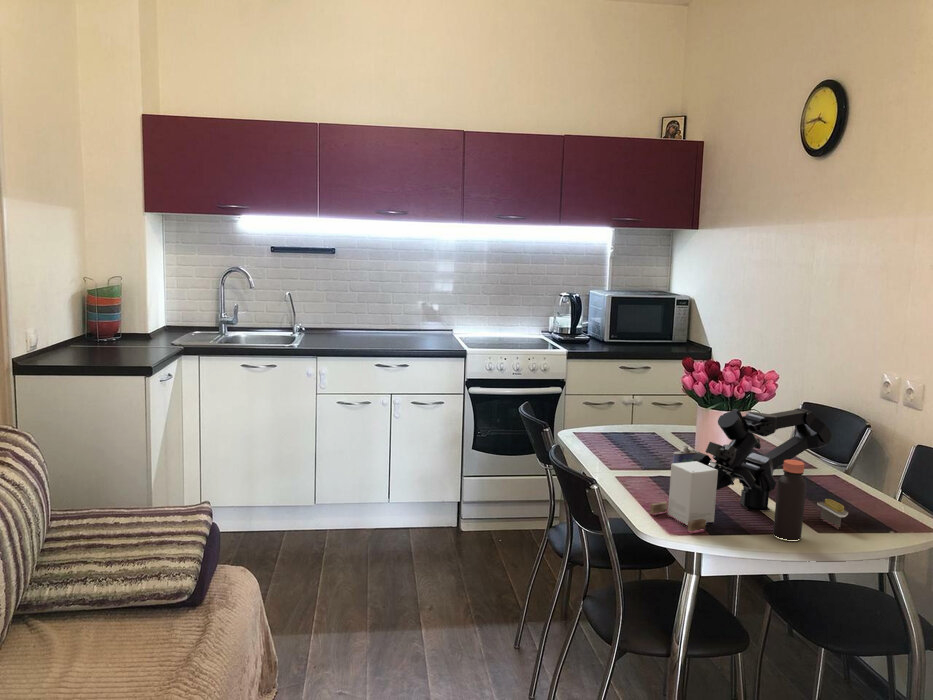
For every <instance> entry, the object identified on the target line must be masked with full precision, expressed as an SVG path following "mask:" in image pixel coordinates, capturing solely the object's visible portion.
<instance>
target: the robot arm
mask: <svg viewBox="0 0 933 700" xmlns="http://www.w3.org/2000/svg"><path fill="white" fill-rule="evenodd" d="M717 424H718V426H719V428H720V429H721V430H722V432H723V433H724V435H725V436H726V437H727V439H728V440H730V442H729V443H728V444H723V445H721V444H718V443H716V442H714V441H713V442H712V441H709V442H708V444H707V448H705V453H707V454H705V453H702V452H700V451H699V452H697V453H696V454H695V455H694V456H693V457H692V459H693V460H694V461H698V462H700V463H702V464H704V465H707V466H709V467H712V468H714V469H716V470H718V478H717V489H716V492H718V491H719V490H720V489H723V488H727V487H729V486H734V485H735V480H737V479H738V482H739V484H741V485H742V487H743V489H741V492H740V494H741V495H740V501H739V504H740V503H741V504H742V505H743V507H744V508H745V509H746V508H747V509H748V510H747V509H746V510H747V511H749V510H770V511H771V508H770V507H769V496H770V492H772V491H774V490H775V488H776V485H777V481H776V480H775V479H774V478H773V474H774V471H775V470H776V469H778V468H780V467H781V466H783V465H784V461H785V460H793V458H795V457H797V456H798V455H800V454H802V453H803V452H805V451H806V450H811V449H813V450H814V449H819V448H822V447H824V446H827V444H829V442H831V439H832V432H831V429H830V427H828V426H827V425H826V424H825V423H824V422H822V420H820V419H819V418H818V417H817V416H816V415H815V414H814V413H813V412H812V411H811V410H808V409H803V408H799V407H798V408H795V409H792V410H791V409H790V410H785V411H780V412H774V413H764V412H758V411H757V412H756V411H749V412H747V413H746V415H742V412H741V411H740V409H736V408H733V409H732V410H731V411H727V412H725V413H723V414H721V415H720V416H719V417H718V419H717ZM790 427H794V428H795V431H796V432H795V435H794V436H791V438H789V439H787V440H786V441H784V442H783V443H780V445H778V446H776V447H774V448H772V450H770V451H768V452H766V453H765V454H763V455H762V454H759V453H756V452H752V451H753V449H754V448H755V449H757V450H758V449H759V450H760V449H761V443H760V442H761V439H760V438H757V437H756V436H755V435H757V436H760V437H768V436H771V435H773V434H774V433H775V432H776V431H777V430H780V429H785V428H790ZM709 454H710V455H712V458H711V457H710V456H709ZM712 459H713V460H712ZM741 504H740V505H741ZM742 505H741V506H742Z"/></svg>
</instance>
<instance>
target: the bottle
mask: <svg viewBox="0 0 933 700" xmlns="http://www.w3.org/2000/svg"><path fill="white" fill-rule="evenodd" d="M782 466H783V467H782V471H783V474H782V475H781V476H780V477H779V478H778V480H777V487H776V488H777V489H776V500H775V508H774V517H773V519H774V520H773V530H772V535H773V534H774V535H775V536H777V537H779V538H783V539H787V540H798V539H800V538H801V539H802V532H803V531H802V530H803V521H804V513H805V502H806V494H807V485H808V484H807V483H808V482H807V481H806V480H805V479H804V477H803V475H804V473H805V462H803V461H801V460H796V459H791V460H785V461H784V464H783V465H782ZM774 535H773V536H774ZM801 539H800V540H801Z"/></svg>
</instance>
